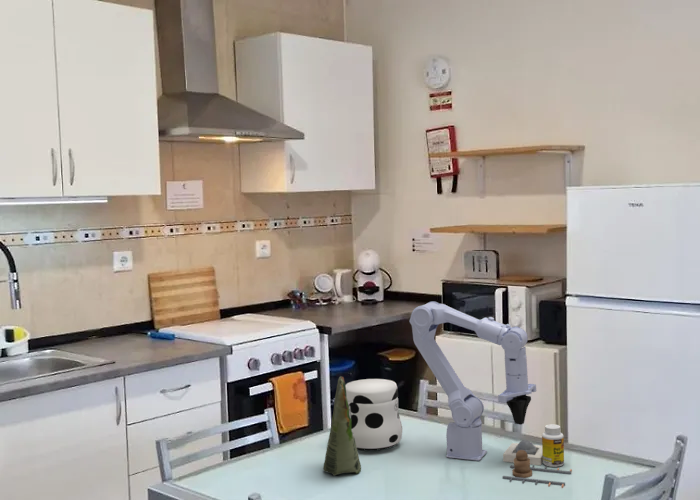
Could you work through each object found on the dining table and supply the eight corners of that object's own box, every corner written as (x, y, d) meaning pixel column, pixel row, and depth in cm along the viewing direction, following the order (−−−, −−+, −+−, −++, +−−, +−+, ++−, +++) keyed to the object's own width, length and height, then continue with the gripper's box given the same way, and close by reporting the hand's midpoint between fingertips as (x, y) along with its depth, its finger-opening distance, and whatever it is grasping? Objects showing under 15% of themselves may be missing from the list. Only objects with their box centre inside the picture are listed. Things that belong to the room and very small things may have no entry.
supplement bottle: (554, 469, 210) (553, 430, 209) (538, 463, 215) (537, 426, 214) (568, 464, 213) (567, 426, 213) (552, 459, 218) (551, 421, 217)
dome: (514, 458, 219) (513, 442, 219) (518, 452, 224) (518, 436, 223) (533, 460, 217) (533, 444, 216) (537, 454, 221) (537, 438, 221)
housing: (503, 461, 218) (503, 454, 218) (512, 449, 227) (512, 442, 227) (540, 465, 214) (540, 457, 213) (548, 453, 223) (548, 446, 222)
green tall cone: (343, 460, 224) (339, 371, 222) (374, 470, 216) (370, 377, 214) (313, 472, 216) (308, 379, 214) (344, 482, 208) (340, 386, 206)
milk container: (413, 440, 239) (411, 380, 237) (384, 458, 224) (381, 395, 223) (363, 433, 248) (360, 375, 247) (332, 450, 234) (329, 389, 232)
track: (500, 480, 204) (500, 478, 204) (512, 464, 215) (512, 462, 215) (563, 488, 197) (563, 486, 197) (572, 471, 208) (572, 469, 208)
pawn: (510, 476, 206) (509, 452, 206) (514, 470, 211) (514, 446, 210) (529, 479, 204) (529, 454, 204) (534, 472, 209) (533, 448, 208)
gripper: (512, 380, 208) (515, 432, 209) (544, 369, 218) (547, 419, 218) (490, 377, 213) (493, 428, 214) (522, 366, 223) (525, 415, 224)
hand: (519, 423), depth 216 cm, fingers closed
